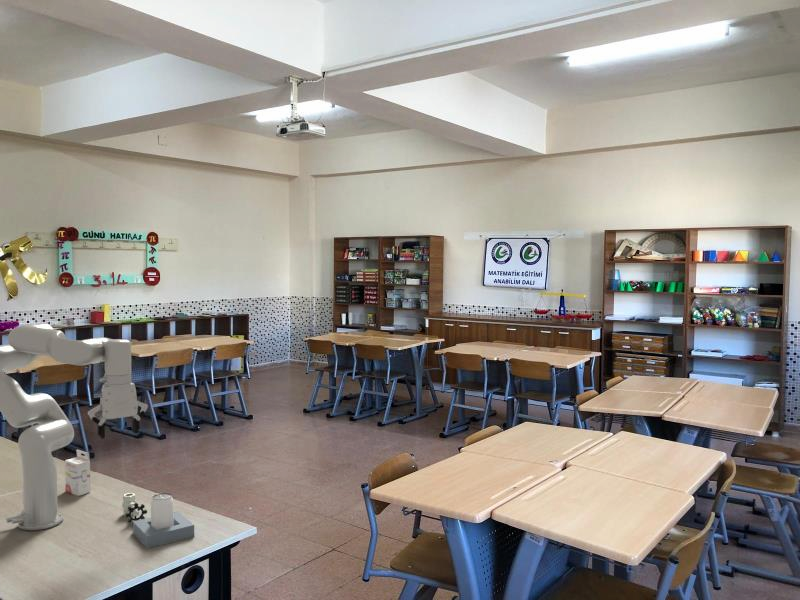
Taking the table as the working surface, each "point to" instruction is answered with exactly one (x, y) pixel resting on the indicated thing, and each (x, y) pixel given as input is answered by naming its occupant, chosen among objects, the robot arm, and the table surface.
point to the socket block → (163, 531)
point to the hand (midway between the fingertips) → (118, 435)
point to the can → (162, 511)
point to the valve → (132, 507)
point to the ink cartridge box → (78, 474)
